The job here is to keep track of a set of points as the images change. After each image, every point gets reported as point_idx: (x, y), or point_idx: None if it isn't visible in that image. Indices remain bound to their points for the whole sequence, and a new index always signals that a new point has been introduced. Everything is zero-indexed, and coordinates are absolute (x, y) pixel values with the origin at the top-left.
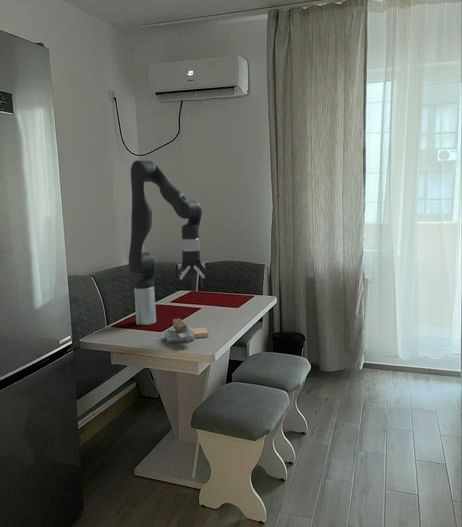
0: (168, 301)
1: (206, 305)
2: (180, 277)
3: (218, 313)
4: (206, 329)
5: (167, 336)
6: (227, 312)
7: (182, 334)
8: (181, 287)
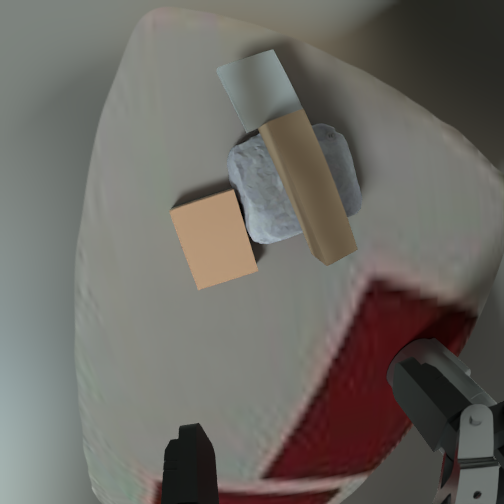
0: (344, 490)
1: (250, 491)
2: (485, 419)
3: None
4: (187, 260)
5: (345, 140)
6: None
7: (278, 87)
8: (412, 360)
